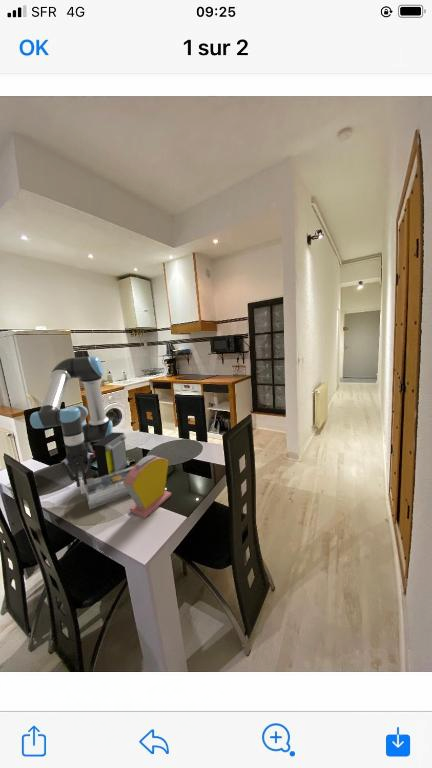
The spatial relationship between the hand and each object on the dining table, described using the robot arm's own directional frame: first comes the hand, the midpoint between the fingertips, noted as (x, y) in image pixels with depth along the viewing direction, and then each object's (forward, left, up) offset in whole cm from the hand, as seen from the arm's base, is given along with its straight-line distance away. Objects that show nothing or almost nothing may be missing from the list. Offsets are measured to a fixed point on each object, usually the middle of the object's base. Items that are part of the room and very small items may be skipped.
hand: (83, 491), depth 113 cm
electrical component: (-20, +17, -6) cm, 27 cm away
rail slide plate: (0, +14, -5) cm, 15 cm away
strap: (0, +16, -1) cm, 16 cm away
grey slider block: (0, +5, -1) cm, 5 cm away
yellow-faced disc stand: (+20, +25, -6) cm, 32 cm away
